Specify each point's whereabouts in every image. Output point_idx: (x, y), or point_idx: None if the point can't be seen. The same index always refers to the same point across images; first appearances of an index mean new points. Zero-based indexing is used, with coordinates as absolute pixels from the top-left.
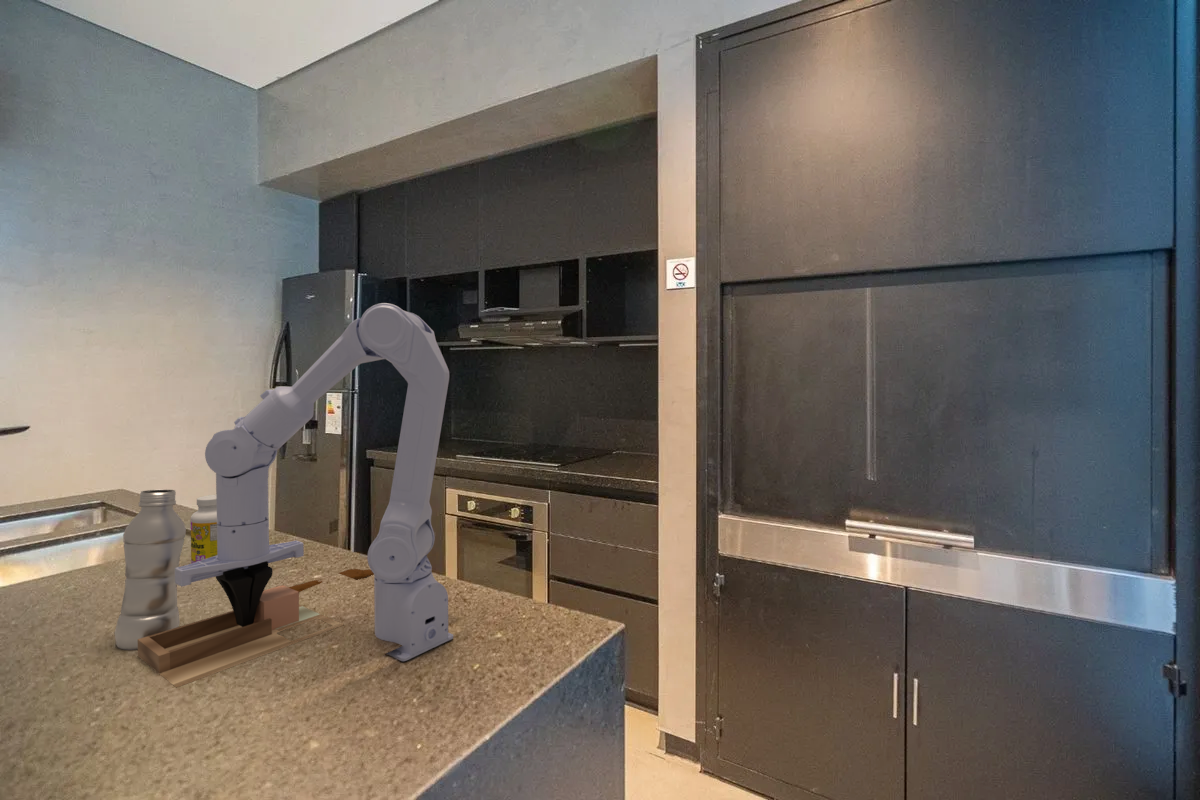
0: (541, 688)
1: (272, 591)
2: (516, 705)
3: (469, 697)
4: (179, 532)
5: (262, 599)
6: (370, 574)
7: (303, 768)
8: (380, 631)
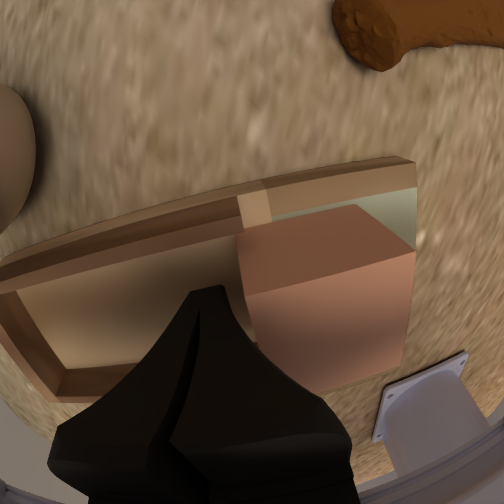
0: (392, 470)
1: (347, 318)
2: (366, 480)
3: (357, 474)
4: None
5: None
6: None
7: None
8: (391, 434)
